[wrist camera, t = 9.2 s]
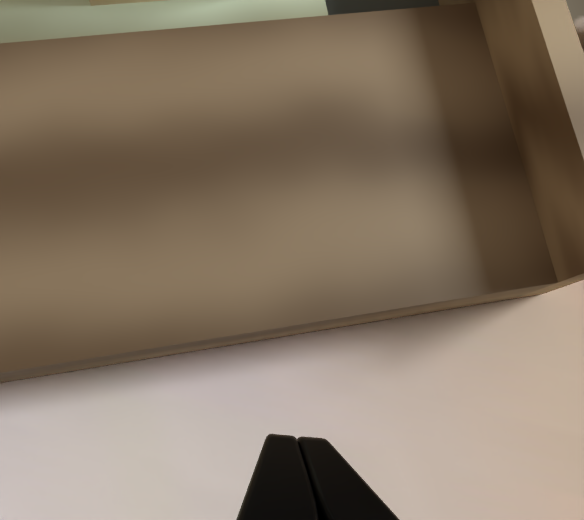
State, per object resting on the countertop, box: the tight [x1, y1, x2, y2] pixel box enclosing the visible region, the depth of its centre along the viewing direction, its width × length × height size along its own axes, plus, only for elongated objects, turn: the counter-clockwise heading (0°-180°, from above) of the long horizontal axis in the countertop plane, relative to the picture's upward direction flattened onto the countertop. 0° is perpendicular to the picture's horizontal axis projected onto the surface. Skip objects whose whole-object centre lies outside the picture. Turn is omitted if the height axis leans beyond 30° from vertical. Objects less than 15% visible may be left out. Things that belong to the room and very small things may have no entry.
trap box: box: [0, 0, 584, 383], centre depth 20 cm, size 24×26×6 cm
